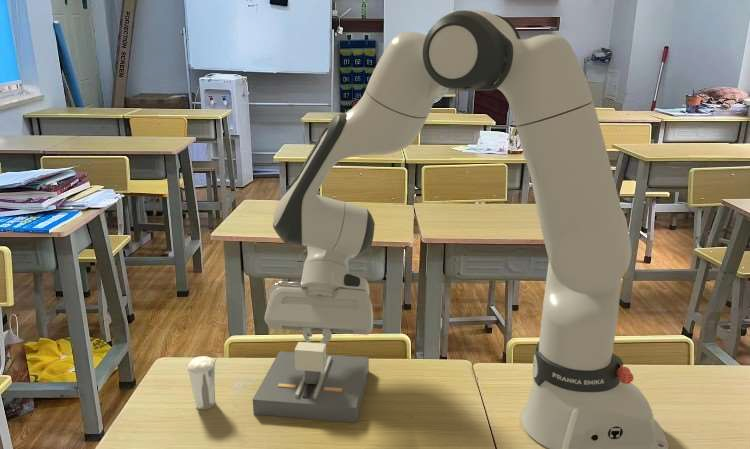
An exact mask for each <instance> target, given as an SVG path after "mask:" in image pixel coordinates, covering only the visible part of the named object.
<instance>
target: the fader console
mask: <svg viewBox="0 0 750 449" xmlns="http://www.w3.org/2000/svg"><path fill="white" fill-rule="evenodd" d="M369 363H370V362H369V357H368V356H367V357H365V356H351V355H341V354H340V355H337V354H335V355H334V354H326V366H325V369H324V371H323V372H318V381H317V383H316V384H306V383H305V371H302V370H295V351H293V352H292V351H278V353H277V355H276V357H275V358H274V360H273V362H272V363H271V366H270V367H269V369H268V371H267V373H266V374H265V376H264V378H263V380H262V382H261V384H260V385H259V387H258V389H257V391H256V393H255V394H254V396H253V398H252V409H253V410H252V411H253V415H257V416H258V415H259V416H270V417H271V416H272V417H280V418H281V417H284V418H295V419H307V420H320V421H321V420H322V421H330V422H331V421H332V422H343V423H355V424H356V423H357V420H358V417H359V412H360V407H361V405H362V400H363V396H364V393H365V388H366V384H367V379H368V376H369V370H370V369H369V368H370V367H369V366H370V364H369Z"/></svg>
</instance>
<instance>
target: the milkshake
mask: <svg viewBox="0 0 750 449" xmlns="http://www.w3.org/2000/svg"><path fill="white" fill-rule="evenodd" d="M217 358H218V356H216V358H215V360H214V359H213V358H212V357H210V356H197V357H196V356H195V357H194V358H193V359H191V360H190V361H189V363H188V364H187V371H188V376H189V379H190V385H191V389H192V394H193V399H194V404H195V408H196V409H198V410H202V411H206V410H209V409H210V410H211V409H212V407H214V406H215V403H216V390H215V389H216V382H215V378H216V377H215V375H216V374H215V373H216V361H217Z"/></svg>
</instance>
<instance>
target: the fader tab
mask: <svg viewBox="0 0 750 449" xmlns="http://www.w3.org/2000/svg"><path fill="white" fill-rule="evenodd" d="M294 352H295V370H302V371H305V383H306V384H316V383H317V381H318V372H323V371H324V369H325V366H326V355H327V344H323V343H320V342H311V343H308V342H306V341H305V342H304V341H298V342H297V344H296V346H295V348H294Z"/></svg>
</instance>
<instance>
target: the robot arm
mask: <svg viewBox="0 0 750 449" xmlns="http://www.w3.org/2000/svg"><path fill="white" fill-rule="evenodd" d="M444 88H446V89H448V90H453V91H457V92H475V91H494V90H496V89H497V90H499V91H500V92H501V93H502V95H504V97H505V98H506V100H507V102H508V105H509V108H510V110H511V114H512V117H513V122H514V125H515V129H516V132H517V135H518V139H519V142H520V145H521V149H522V152H523V155H524V159H525V162H526V165H527V170H528V172H529V176H530V181H531V184H532V191H533V195H534V196H533V197H534V201H535V205H536V210H537V215H538V220H539V224H540V228H541V233H542V238H543V242H544V245H545V249H546V254H547V258H548V265H547V271H546V273H547V274H546V280H545V286H544V287H545V289H544V293H543V294H544V295H543V303H542V312H541V320H540V321H541V322H540V332H539V339H538V342H537V343H536V345H535V351H534V355H533V363H532V376H533V377H532V378H533V380H532V384H531V385H532V386H531V389H530V392H529V396H528V399H527V401H526V404H525V406H524V408H523V409H522V412H521V415H520V420H521V425H522V427H523V429H524V430H525V432H526V433H527V434H528V435H529V436H530V438H532V439H533V440H534V441H535V442H537V443H538V444H540V445H542V446H544V447H545V448H547V449H669V444H668V440H667V437H666V435H665V433H664V431H663V429H662V427H661V426H660V424H659V422H658V421H657V420H656V419H655V418H654V413H653V410H652V407H651V405H650V403H649V401H648V399H647V398H646V396H645V395H644V394H643V392H642V391H641V390H640V388H639V387H637V386H636V385H635V384H634V383H632V382H633V381H634V379H635V378H634V375H633V373H632V371H631V370H630V368H628V367H627V366H624V362H623V360H622V358H621V357H620V356H618V355H617V353H616V352H615V350H614V343H615V339H616V331H617V325H618V317H619V310H620V309H619V307H620V297H621V296H620V295H621V285H622V284H621V283H622V278H623V277H624V275H625V273H626V272H627V271H628V267H629V266H630V263H631V259H632V243H631V238H630V232H629V227H628V222H627V217H626V215H625V213H624V211H623V209H622V205H621V202H620V197H619V194H618V190H617V186H616V182H615V178H614V174H613V170H612V167H611V163H610V159H609V154H608V151H607V148H606V147H607V146H606V142H605V140H604V136H603V132H602V128H601V125H600V120H599V117H598V113H597V111H596V110H597V109H596V106H595V102H594V99H593V95H592V93H591V89H590V86H589V83H588V80H587V77H586V75H585V72H584V70H583V68H582V66H581V63H580V61H579V59H578V56H577V55H576V53H575V51H574V49H573V48H572V45H571V44H570V42H569V41H568V40H567V39H566V38H564V37H563V36H560V35H557V34H539V35H535V36H532V37H529V38H525V39H521V37H520V34H519V31H518V30H517V28H516V26H514V24H513V23H512V22H511V21H509V20H508V19H507V18H506V17H503V16H500V15H498V14H494V13H491V12H488V11H485V10H478V9H477V10H456V11H453V12H450V13H448V14H446V15H444V16H442V17H441V18H440V19H438V20H437V21H436V22H435V23H434V24H433V25H432V26H431V28H430V29H429V30H428V32H427V34H424V33H421V32H415V31H406V32H401V33H399V34H397V35H396V36H394V37H392V40H390V42H389V44H388V45H387V47H385V49H384V51H383V53H382V55H381V57H380V58H379V60H378V61H377V64H376V66H375V67H374V69H373V72H372V74H371V76H370V78H369V80H368V83H367V85H366V89H365V90H364V92H363V95H362V96H361V98H360V99H359V100H358V102H357V103H356V104H355V105H354V106H353V107H352V108H351V109H349V110H347V111H346V112H343V113H338V114H336V115H335V116H334V117H333V118H332V119H331V120H330V121H329V122H328V124H327V126H325V128H324V129H323V131H322V133H321V135H320V136H319V137H318V139H317V140H316V142H315V144H314V146H313V148H312V149H311V151H310V152H309V155H308V156H307V158H306V159H305V161H304V163H303V165H302V166H301V167H300V169H299V171H298V173H297V175H296V177H294V180H293V182H292V183H291V184H290V185H289V187H288V188H287V190H286V191H285V193H284V194H283V195H282V197H281V198H280V200H279V201H278V203H277V205H276V206H275V207H276V208H275V209H274V210H275V211H274V214H273V222H272V227H273V230H274V231H275V233H276V234H277V235H278V237H279V239H281V241H283V243H284V244H288V245H295V246H304V247H306V250H307V256H306V259H305V261H304V264H303V269H302V273H301V274H302V275H301V281H286V280H280V281H278V282H276V283H274V284H272V285H271V287H270V289H269V295H268V299H269V300H268V304H267V306H266V309H265V310H266V311H265V314H264V318H263V319H264V322H265V324H266V325H267V326H268V327H269V329H272V330H285V331H286V330H288V331H302V332H301V333H302V336H303V338H304V341H305V342H308V343H312V342H311V339H310V337H311V338H312V336H313V333H314V332H318V333H322V336H323V337H322V338H321V340H320V341H319V343H323V344H326V345H327V344H328V343H329V342H330V340H332V334H333V333H334V334H349V335H350V334H351V335H363V336H365V335H366V336H368V335H370V334H371V333H372V331H373V329H374V313H373V312H374V311H373V305H372V299H370V298H371V297H370V292H371V291H370V284H369V282H368V280H367V279H366V278H365V277H363V276H361V275H357V274H354V273H351V272H350V271H349V270H350V269H349V262H350V259H355V258H357V257H360V256H361V255H362V254H364V253H366V252H368V250H370V248H371V247H372V245H373V241H374V234H375V221H374V217H373V216H372V214H371V212H370V211H369V210H368V208H366V207H363V206H362V205H357V204H354V203H351V202H346V201H343V200H338V199H334V198H330V197H327V196H323V195H320V194H317V193H318V192H319V189H320V188H321V187H322V185H323V183H324V182H325V181H326V178H327V177H328V176H329V174H330V172H331V170H332V169H333V167H334V166H336V164H337V163H339V162H340V161H343V160H345V159H348V158H353V157H359V156H374V155H376V156H377V155H380V156H381V155H388V154H393V153H396V152H400V151H402V150H404V149H406V148H408V147H409V146H410V145H412V144H413V143H414V142H415V140H416V139H417V138H418V136H419V134H420V133H421V131H422V129H423V127H424V125H425V124H426V123H425V122H426V121H427V118H428V116H429V114H430V112H431V109H432V107H433V105H434V103H435V101H436V100H437V97H438V95H439V94H440V92H441V91H442V90H443V89H444Z"/></svg>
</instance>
